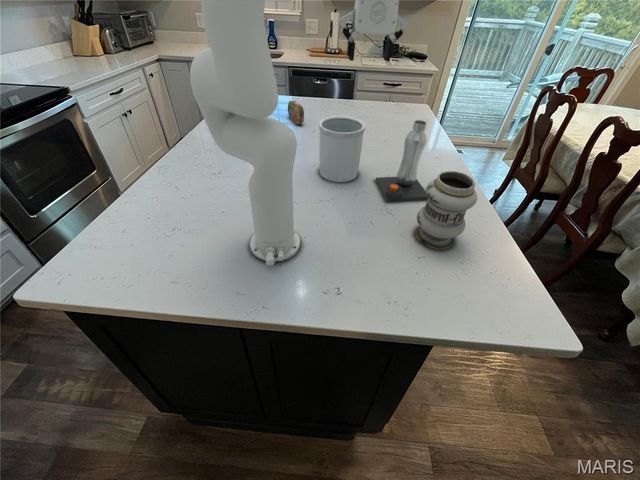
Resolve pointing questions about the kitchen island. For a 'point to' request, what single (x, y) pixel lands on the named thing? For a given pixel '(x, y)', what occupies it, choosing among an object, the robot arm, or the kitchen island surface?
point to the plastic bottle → (412, 153)
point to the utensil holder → (340, 147)
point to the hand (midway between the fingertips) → (368, 60)
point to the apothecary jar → (445, 209)
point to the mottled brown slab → (295, 112)
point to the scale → (401, 190)
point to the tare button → (393, 188)
